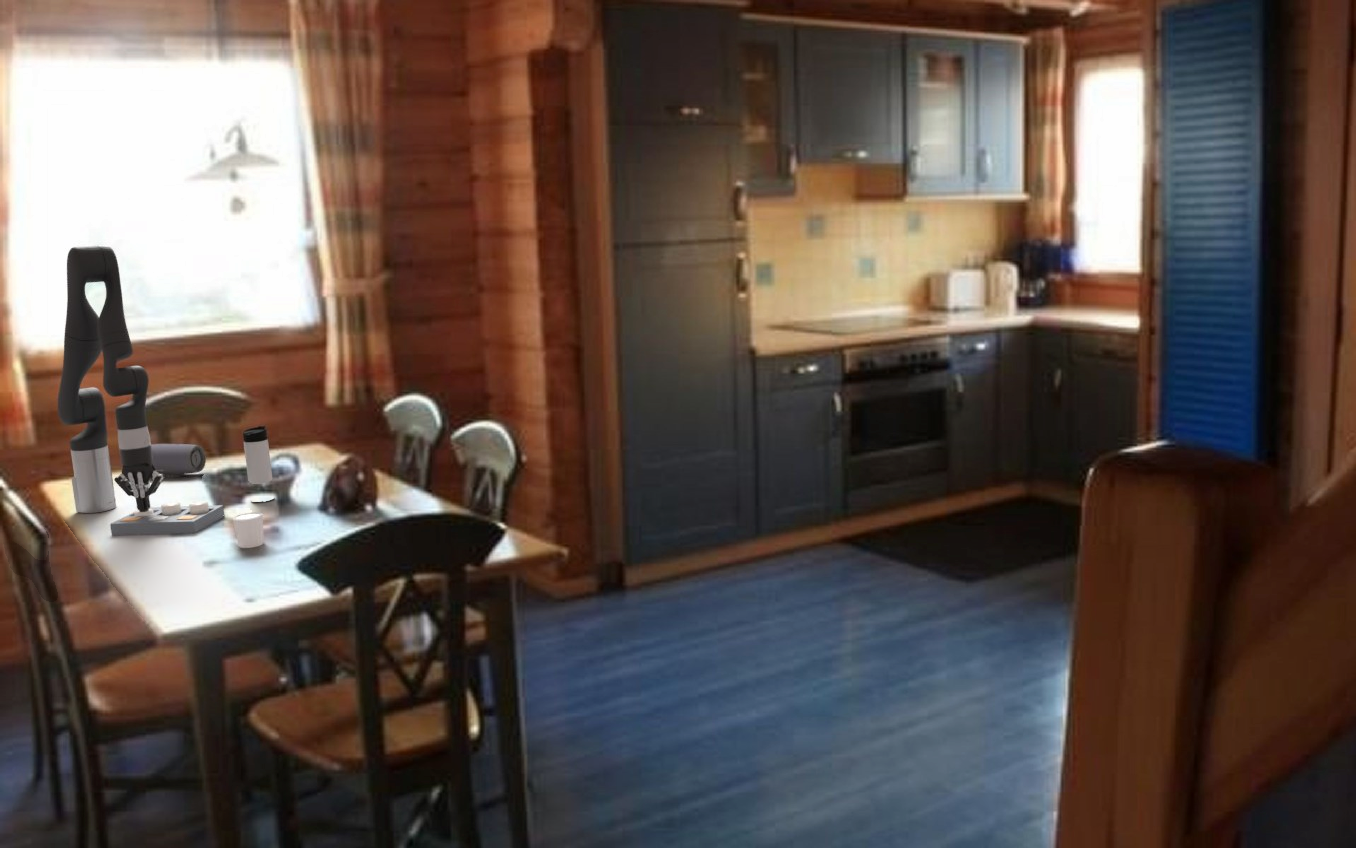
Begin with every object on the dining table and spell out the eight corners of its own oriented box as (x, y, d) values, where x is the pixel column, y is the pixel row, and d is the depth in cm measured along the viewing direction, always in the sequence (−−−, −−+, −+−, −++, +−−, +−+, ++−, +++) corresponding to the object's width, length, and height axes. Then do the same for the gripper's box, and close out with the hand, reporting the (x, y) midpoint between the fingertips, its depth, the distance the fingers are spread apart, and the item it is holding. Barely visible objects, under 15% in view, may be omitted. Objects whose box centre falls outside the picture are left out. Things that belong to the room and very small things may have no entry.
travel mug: (280, 497, 355) (272, 425, 351) (263, 503, 349) (254, 430, 345) (262, 496, 358) (254, 425, 354) (245, 502, 352) (236, 430, 348)
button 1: (132, 525, 331) (130, 513, 331) (141, 520, 336) (139, 509, 335) (149, 524, 331) (147, 513, 330) (158, 519, 335) (156, 508, 335)
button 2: (187, 517, 329) (185, 506, 329) (195, 513, 334) (194, 501, 333) (204, 517, 329) (202, 505, 328) (212, 512, 333) (211, 501, 333)
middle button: (159, 518, 330) (157, 507, 330) (168, 514, 335) (166, 502, 334) (176, 518, 330) (174, 506, 329) (184, 513, 334) (183, 502, 334)
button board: (111, 535, 324) (110, 523, 324) (144, 518, 340) (143, 506, 339) (195, 533, 322) (193, 520, 321) (224, 516, 337) (223, 504, 337)
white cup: (238, 550, 303) (234, 521, 302) (233, 544, 309) (230, 515, 308) (268, 545, 306) (265, 516, 305) (263, 539, 312) (259, 510, 311)
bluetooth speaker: (209, 472, 395) (205, 440, 394) (191, 479, 387) (187, 446, 385) (143, 473, 401) (139, 441, 399) (124, 480, 392) (120, 447, 390)
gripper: (166, 441, 333) (175, 506, 336) (118, 443, 334) (127, 508, 337) (152, 447, 325) (161, 514, 328) (102, 449, 327) (112, 515, 330)
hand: (144, 511), depth 333 cm, fingers closed
